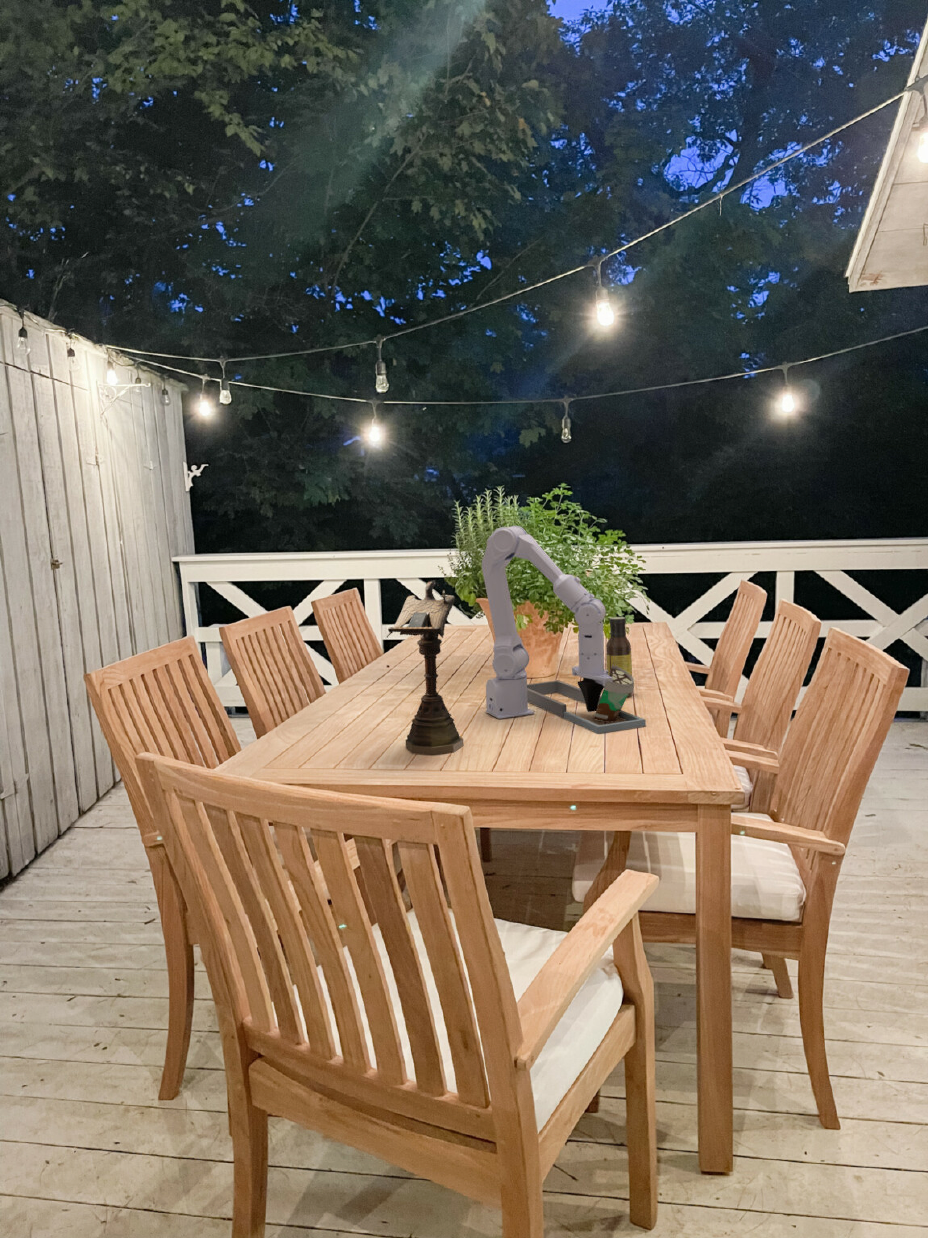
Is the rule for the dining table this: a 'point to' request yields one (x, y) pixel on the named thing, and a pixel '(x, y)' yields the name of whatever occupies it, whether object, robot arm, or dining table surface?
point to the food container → (614, 695)
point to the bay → (630, 723)
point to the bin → (549, 704)
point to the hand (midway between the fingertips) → (592, 711)
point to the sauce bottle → (618, 646)
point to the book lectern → (429, 674)
